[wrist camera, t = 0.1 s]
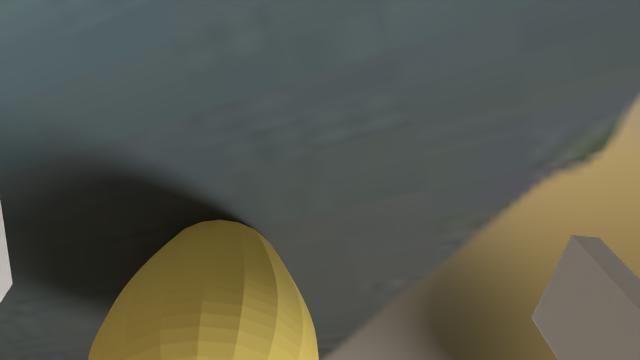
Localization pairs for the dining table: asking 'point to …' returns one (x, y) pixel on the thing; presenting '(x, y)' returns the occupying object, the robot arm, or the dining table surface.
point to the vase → (209, 303)
